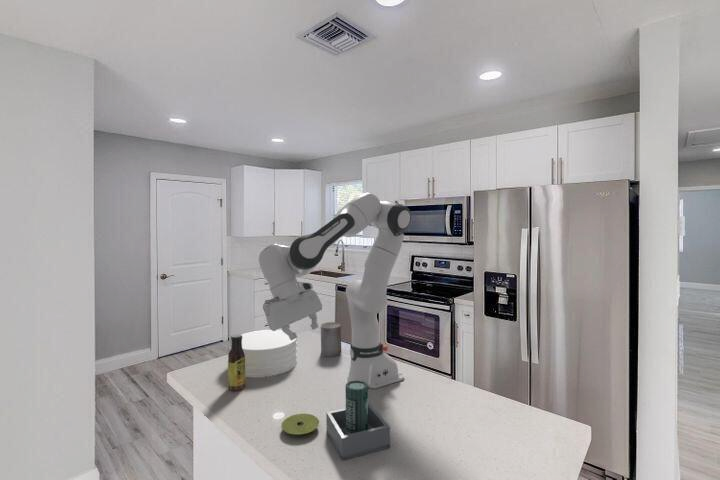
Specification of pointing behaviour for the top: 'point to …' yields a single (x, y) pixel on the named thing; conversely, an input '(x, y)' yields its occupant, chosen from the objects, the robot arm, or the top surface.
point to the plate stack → (268, 353)
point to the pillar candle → (330, 339)
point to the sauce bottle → (236, 364)
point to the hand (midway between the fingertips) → (305, 333)
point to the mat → (300, 424)
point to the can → (356, 406)
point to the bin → (357, 434)
